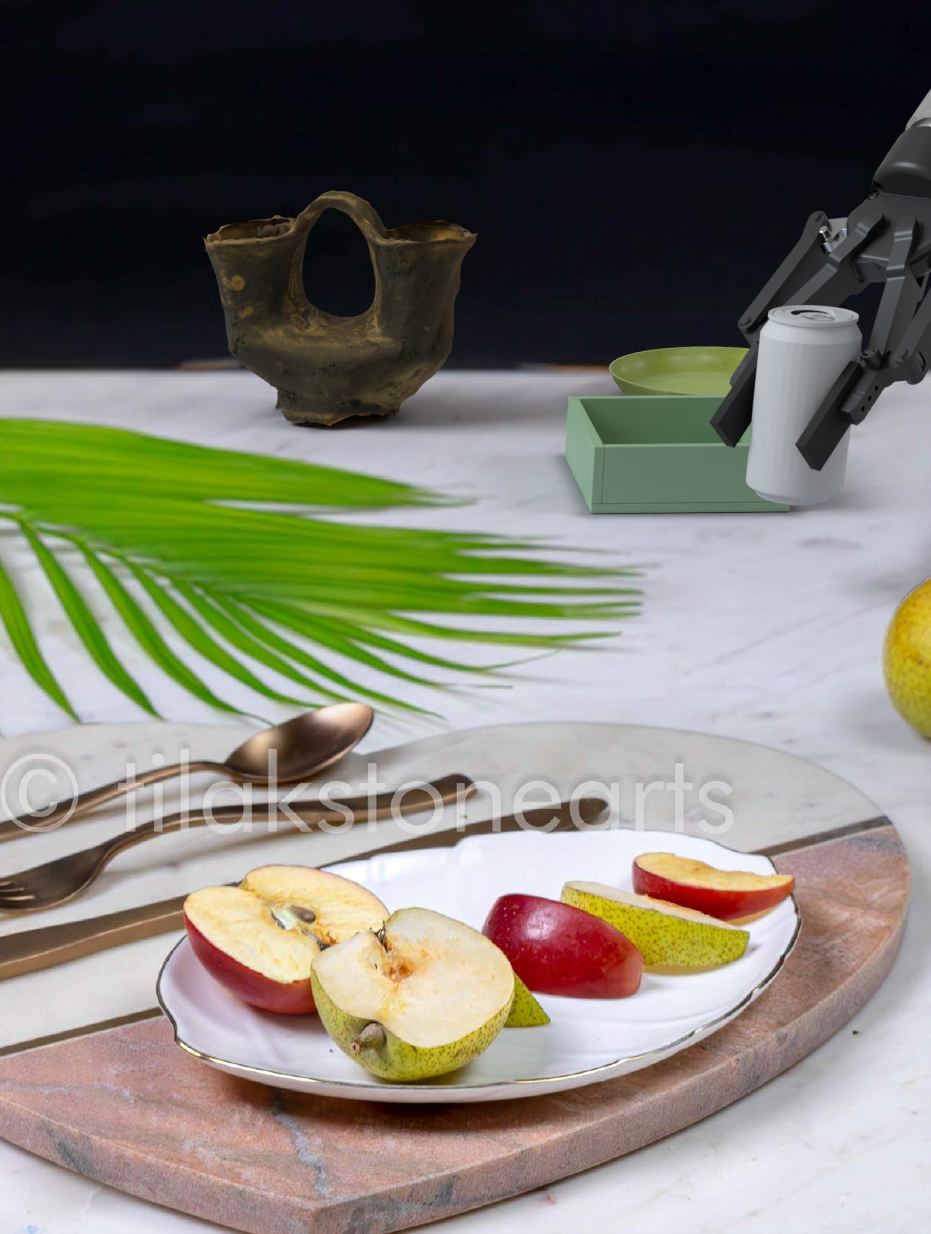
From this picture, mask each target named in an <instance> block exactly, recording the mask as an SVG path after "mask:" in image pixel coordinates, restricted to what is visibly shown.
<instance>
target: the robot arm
mask: <svg viewBox="0 0 931 1234" xmlns="http://www.w3.org/2000/svg"><path fill="white" fill-rule="evenodd" d="M930 273H931V89H930V90H929V91H928V93H926V95H925V97H924V98H923V100H922V101H921V103H920V104H919V106H918V107H917V108H916V110H915V112H914V113H913V114H912V116H911V117H910V119H909V120H908V122H907V123H906V126H905V129H904V131H903V132H902V133H901V134H900V135H899V136H898V137H897V139H896V141H895V142H894V144H892V147H891V148H890V150H889V151H888V152H887V154H886V155H885V157H884V159H883V160H882V162H881V163H880V165H879V166H878V168H877V170H876V171H875V173H874V175H873V179H872V182H871V186H870V190H869V192H868V196H867V197H866V199H865V200H864V201H863V202H862V203H861V204H860V205H858V206H857V207H856V208H855V209H852V211H851V212H850V213H849V215H848V216H847V217H839V218H828V216H827V215H826V213H825V212H824V211H823V210H817V211H814V212H813V213H811V214H810V215H809V217H808V218H807V221H806V224H805V226H804V229H803V232H802V235H801V237H800V239H799V240H798V242H797V243H796V244H795V246H794V247H793V248H792V250H790V252H789V253H788V255H787V256H786V257H785V259H784V260H783V261H782V263H781V264H780V266H779V267H778V268H777V269H776V270H775V272H774V273H773V274H772V276H771V277H770V278H769V280H768V281H767V283H766V284H765V285H764V286H763V288H762V289H761V290H760V292H759V293H758V294H757V296H756V297H755V298H754V300H753V301H752V302H751V304H750V305H749V306H748V308H747V309H746V310H745V312H744V313H743V314H742V316H741V317H740V318H739V319H738V322H737V327H738V328H739V330H740V332H741V333H742V334H743V336H744V338H745V340H746V341H747V343H748V344H749V346H750V347H749V348H748V349H749V351H748V352H747V354H746V355H745V357H744V358H743V360H742V361H741V363H740V365H739V366H738V367H737V369H736V370H735V372H734V373H733V375H732V376H731V379H730V383H729V384H730V385H731V387H732V388H731V390H730V391H729V393H728V394H727V396H726V397H725V399H724V400H723V402H722V403H721V405H720V406H719V408H718V409H717V411H716V412H715V414H714V415H713V417H712V418H711V420H710V421H709V422H710V424H711V425H712V427H713V428H714V429H715V431H716V432H717V434H718V435H719V437H720V438H721V439H722V441H723V442H724V444H725V445H726V446H729V447H733V448H735V446H736V445H737V443H738V442H739V440H740V439H741V437H742V436H743V434H744V433H745V431H746V430H747V428H748V427H749V425H750V424H751V422H752V412H753V402H754V392H755V382H756V372H757V361H758V351H759V341H760V332H761V330H762V328H763V327H764V326H765V324H766V323H767V322H768V320H769V318H768V312H769V311H770V310H771V309H774V308H778V307H783V306H795V305H815V306H828V307H836V308H839V306H840V305H841V304H842V303H843V302H844V301H846V299H847V298H848V297H849V296H851V295H855V296H856V295H859V294H860V293H861V292H863V291H864V290H865V289H866V288H867V287H868V286H869V285H870V284H872V283H873V284H874V283H885V286H884V288H883V293H882V296H881V299H880V301H879V302H880V303H879V305H878V308H877V309H878V310H877V313H876V318H875V320H874V322H873V327H872V330H871V333H870V336H869V341H868V344H867V347H866V349H864V350H861V351H860V357H861V358H862V360H863V361H864V363H865V365H864V366H863V365H862V364H861V363H860V362H859V363H858V362H854V361H850V362H849V363H848V364H847V366H846V367H845V369H844V370H843V372H842V373H841V375H840V376H839V378H838V379H837V381H836V382H835V384H834V386H833V387H832V389H831V390H830V392H829V393H828V395H827V396H826V398H825V399H824V401H823V402H822V404H821V405H820V407H819V408H818V410H817V411H816V413H815V415H814V416H813V418H812V419H811V421H810V422H809V424H808V425H807V427H806V428H805V430H804V431H803V433H802V434H801V436H800V437H799V439H798V440H797V442H796V443H795V445H796V447H797V448H798V450H799V451H800V453H801V455H802V456H803V458H804V459H805V461H806V462H807V464H808V465H809V467H810V468H811V469H814V470H817V471H821V469H822V468H823V466H824V465H825V463H826V462H827V460H828V459H829V457H830V456H831V454H832V452H833V451H834V449H835V448H836V446H837V445H838V443H839V442H840V440H841V439H842V437H843V436H844V434H845V433H846V431H847V429H848V428H849V426H850V425H851V426H852V425H854V426H858V425H860V424H861V423H862V422H863V421H864V420H866V417H867V416H868V415H869V412H870V411H871V410H872V409H873V407H874V405H875V404H876V402H877V401H878V399H879V397H880V396H881V395H882V393H883V392H884V390H885V389H886V388H889V387H891V386H892V385H893V384H894V383H898V382H906V383H907V384H908V385H910V386H916V385H918V384H920V383H921V382H923V380H924V379H925V377H926V376H927V374H928V372H929V370H930V368H931V287H929V290H928V291H927V294H926V295H925V297H924V293H925V291H926V286H927V284H928V279H929V277H930ZM923 298H924V299H923ZM921 301H922V302H921ZM918 302H921V304H920V306H919V308H918V310H917V311H916V308H917V305H918ZM915 311H916V312H915Z"/></svg>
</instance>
